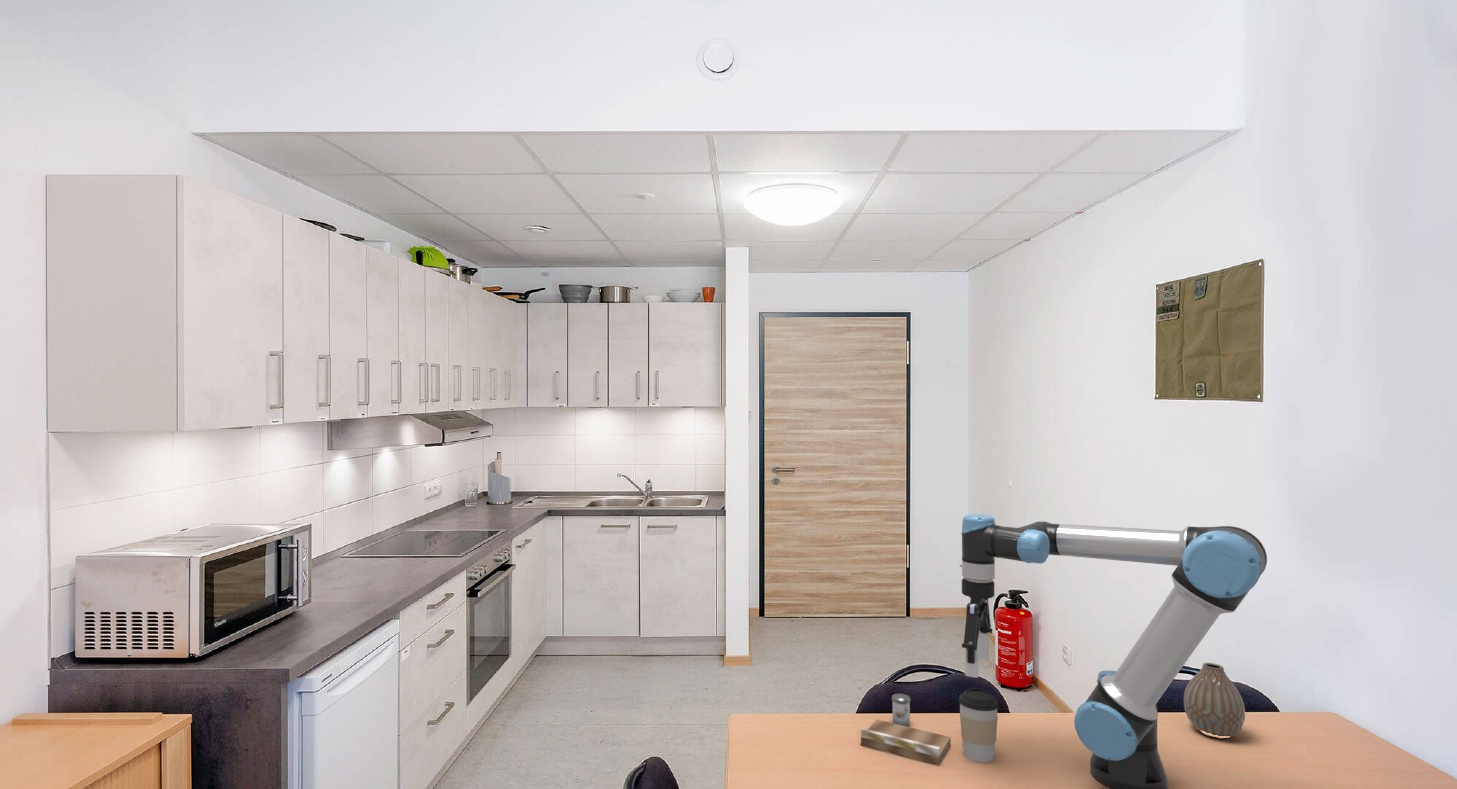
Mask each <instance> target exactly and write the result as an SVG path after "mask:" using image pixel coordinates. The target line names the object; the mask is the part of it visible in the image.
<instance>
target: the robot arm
mask: <svg viewBox="0 0 1457 789" xmlns="http://www.w3.org/2000/svg"><path fill="white" fill-rule="evenodd" d="M960 534H961V563H959V567H960V568H961V576H962V577H963V578H962V579H961V594H963V595H964V596H966V597H969V598H970V603H969V602H968V603H967V604H966V618H965V626H964V636H963V637H964V638H963V643H961V648H964V649H965V662H964V665H965V667H964V668H965V673H964V674H965V677H970V678H977V679H978V678H979V660H983V661H986V662H987V661H990V634H993V628H991V627H992V625H991V616H990V615H991V614H990V608H989V607H990V605H989V599H992V598H994V597H995V582H994V580H995V577H996V570H995V569H996V567H995V565H996V563H995V558H998V559H999V558H1000V559H1003V560H1004V559H1005V560H1011V561H1018V562H1023V563H1027V564H1044V563H1046V561H1047V559H1048V557H1049V555H1050V556H1064V557H1076V558H1085V559H1086V558H1087V559H1098V560H1108V561H1109V560H1110V561H1120V562H1121V561H1122V562H1131V563H1132V562H1133V563H1140V564H1141V563H1143V564H1153V565H1155V564H1156V565H1166V566H1175V569H1174V571H1173V572H1172V573H1171V574H1170V575H1171V579H1172V582H1173V585H1174V587H1173V588H1172V589H1171V591H1170V592H1169V594H1168V595H1167V596H1166V598H1165V600H1164V601H1163V603H1162V604H1161V606H1160V607H1159V609H1158V610H1157V611H1156V612H1155V615H1154V616H1153V618H1152V619H1151V621H1149V623H1148V624H1147V626H1146V628H1145V629H1144V631H1143V632H1142V634H1140V637H1138V639H1137V641H1136V642H1135V644H1134V645H1133V646H1132V648H1131V650H1130V651H1129V653H1128V654H1127V655H1126V657H1125V658H1124V660H1123V662H1122V663H1121V665H1119V667H1118V669H1117V670H1101V671H1099V672H1098V674H1097V680H1096V683H1097V685H1096V686H1095V688H1094V689H1093V690H1092V692H1091V693H1090V694H1089V696H1088V698H1087V699H1086V701H1084V702H1083V703H1082V704H1080V705H1079V707H1077V709H1076V711H1075V712H1076V713H1075V715H1074V719H1073V721H1074V723H1073V724H1074V729H1075V732H1076V735H1077V737H1078V739H1079V740H1080V741H1081V743H1082V744H1083V746H1085V748H1087V749H1088V750H1089V751H1090V752H1091V753H1092V754H1091V755H1090V756H1091V757H1090V760H1089V770H1090V771H1089V772H1090V774H1091V775H1092V777H1093V778H1094V779H1095V780H1097V781H1098V782H1100V784H1103V785H1104V786H1107V787H1108V788H1110V789H1168V777H1167V773H1166V771H1165V768H1164V765H1163V761H1162V760H1161V756H1160V754H1159V751H1158V749H1159V748H1158V718H1159V712H1158V703H1159V700H1160V699H1161V697H1162V696H1163V695H1164V693H1165V692H1166V691H1167V689H1168V688H1169V686H1170V685H1171V683H1172V682H1173V681H1174V680H1175V679H1176V677H1177V675H1178V674H1179V672H1180V671H1181V670H1182V668H1183V667H1184V666H1185V664H1186V662H1187V661H1189V658H1190V657H1191V656H1192V654H1193V653H1194V651H1195V650H1196V648H1198V646H1199V645H1200V644H1201V641H1203V639H1204V638H1205V636H1206V635H1207V633H1208V632H1209V630H1210V629H1211V628H1212V626H1213V625H1214V624H1215V622H1216V621H1217V619H1218V618H1219V617H1220V615H1222V614H1230V613H1234V612H1235V611H1236V610H1237V608H1238V607H1239V606H1240V604H1241V603H1242V601H1244V599H1245V598H1246V596H1247V595H1248V593H1249V592H1250V590H1252V589H1253V588H1254V587H1255V586H1256V584H1257V582H1259V579H1260V578H1261V576H1262V574H1263V573H1264V572H1265V571H1266V568H1267V567H1266V566H1267V563H1268V555H1267V552H1266V548H1265V547H1264V545H1263V543H1262V542H1261V540H1260V539H1259V538H1258V537H1257V536H1255V535H1254V534H1253V533H1251V532H1250V531H1248V530H1246V529H1243V528H1240V527H1238V526H1231V525H1221V526H1220V525H1218V526H1186V527H1185V528H1183V529H1182V530H1170V529H1156V528H1155V529H1153V528H1137V527H1135V528H1134V527H1119V526H1116V527H1115V526H1103V525H1102V526H1099V525H1098V526H1097V525H1082V524H1066V523H1065V524H1063V523H1062V524H1060V523H1052V522H1050V521H1035V522H1032V523H1030V524H1027V525H1023V526H1019V527H1012V526H1002V525H997V524H996V520H995V517H994V516H992V515H988V514H977V513H974V514H973V513H972V514H966V515H964V516H963V518H962V525H961V533H960Z"/></svg>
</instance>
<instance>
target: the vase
mask: <svg viewBox="0 0 1457 789" xmlns="http://www.w3.org/2000/svg"><path fill="white" fill-rule="evenodd" d="M1224 668H1225V667H1224V666H1222V665H1221V664H1218V663H1214V662H1203V663H1202V666H1201V669H1200V670H1199V671H1198V672H1197V673H1196V674H1195V675H1194V676H1193V677H1191V679H1190V680H1189V682H1187V685H1186V687H1185V690H1184V693H1183V708H1184V711H1185V714H1186V716H1187V718H1188V720H1189V722H1190V723H1191V724H1192V725H1193V726H1194V728H1195V729H1197V728H1198V729H1200V730H1202V731H1205V732H1207V733H1211V734H1213V735H1218V736H1232V737H1233V735H1234V736H1236V735H1237V734H1238V733H1239V732H1240V731H1241V729H1242V728H1243V726H1244V723H1245V718H1246V707H1245V702H1244V700H1243V696H1241V693H1240V691H1239V690H1238V688H1237V686H1236V685H1235V684H1234V682H1232V681H1231V679H1230V677H1228V676H1227V673H1226V672H1225V669H1224ZM1198 729H1197V730H1198Z"/></svg>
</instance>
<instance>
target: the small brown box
mask: <svg viewBox="0 0 1457 789" xmlns="http://www.w3.org/2000/svg"><path fill="white" fill-rule="evenodd" d="M951 739H952V738H951V736H947V735H943V734H940V733H939V734H938V733H935V732H932V731H931V732H930V731H927V730H923V729H919V728H914V727H911V726H909V727H907V726H902V725H898V724H894V723H893V722H889V721H885V720H882V719H878V718H877V719H875V720H874V722H873V723H872V724H871V725H870V726H869V727H868V728H863V727H862V728H861V729H860V746H862V747H867V748H870V749H875V750H878V751H881V752H885V753H887V754H889V753H890V754H893V755H897V756H900V757H904V758H908V759H912V760H915V761H919V762H923V763H927V764H931V765H935V766H940V764H941V763H942V762H943V759H944V757H945V756H946V754H947V752H948V750H949V749H950V748H951V745H952V743H951V741H952V740H951Z"/></svg>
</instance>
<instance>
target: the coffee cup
mask: <svg viewBox="0 0 1457 789" xmlns="http://www.w3.org/2000/svg"><path fill="white" fill-rule="evenodd" d="M958 697H959V698H958V703H959V720H960V733H961V735H960V736H961V740H962V750H963V752H962V754H963V756H964V757H965V758H966V759H967V760H970V761H971V762H975V763H980V764H987V763H992V762H993V761H994V760H995V751H996V750H995V749H996V747H995V746H996V742H997V733H998V732H997V731H998V720H999V719H998V718H999V717H998V709H999V701H998V699H997V698H996V697H995V696H994V695H993V694H992V693H991V692H989V691H987V690H984V689H982V688H980V687H970V688H969V689H966V690H964V691H963V692H962V693H961V694H959V696H958Z"/></svg>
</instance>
